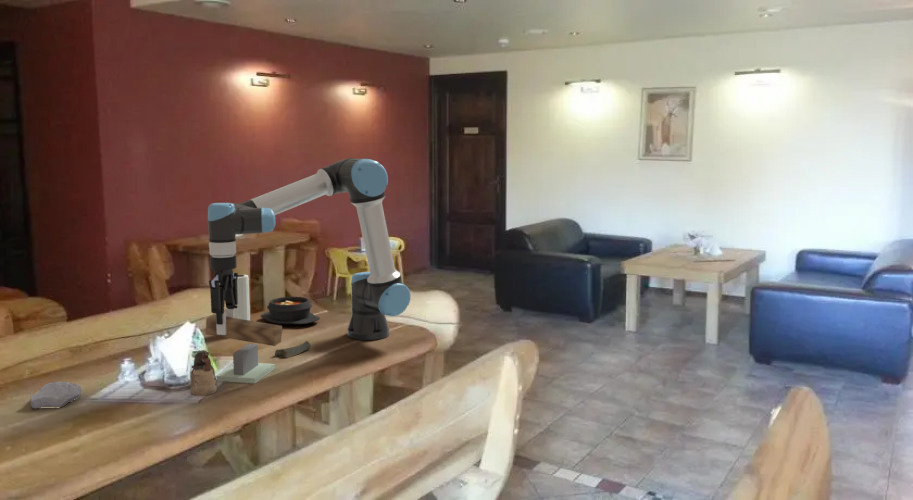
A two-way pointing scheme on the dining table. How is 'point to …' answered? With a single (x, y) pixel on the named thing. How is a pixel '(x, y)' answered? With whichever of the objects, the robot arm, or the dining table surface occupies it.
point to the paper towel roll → (242, 298)
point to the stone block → (55, 394)
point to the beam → (246, 330)
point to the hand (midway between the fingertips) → (225, 332)
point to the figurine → (203, 375)
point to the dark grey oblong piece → (293, 350)
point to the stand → (246, 366)
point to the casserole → (290, 311)
